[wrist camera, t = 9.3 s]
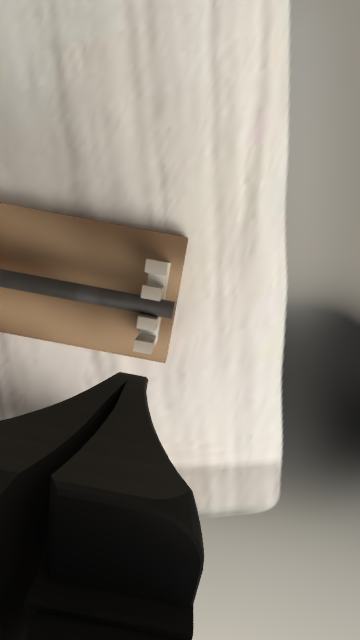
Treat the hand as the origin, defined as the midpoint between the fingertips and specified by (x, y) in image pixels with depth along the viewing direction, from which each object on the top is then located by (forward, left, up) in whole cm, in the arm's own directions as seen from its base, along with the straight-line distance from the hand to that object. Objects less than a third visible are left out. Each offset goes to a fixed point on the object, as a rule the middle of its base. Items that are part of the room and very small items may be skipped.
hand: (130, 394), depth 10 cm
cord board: (+3, +13, -10) cm, 17 cm away
